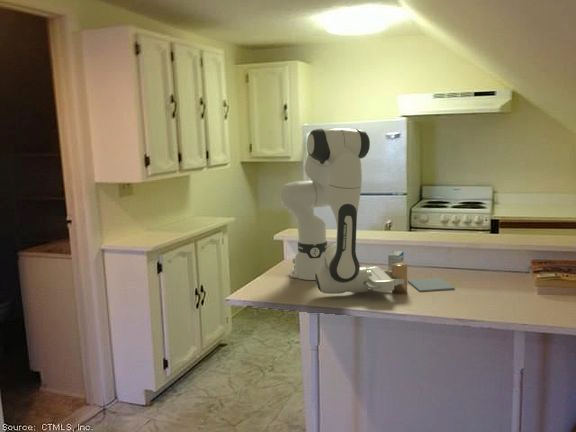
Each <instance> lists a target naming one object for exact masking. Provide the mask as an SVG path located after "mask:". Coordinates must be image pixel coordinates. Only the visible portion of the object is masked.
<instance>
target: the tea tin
mask: <svg viewBox="0 0 576 432" xmlns="http://www.w3.org/2000/svg"><path fill="white" fill-rule="evenodd" d="M398 278H403V279H404V283H403V284H398V285H396V286H394V290H392V291H391V293H392V294H394V295H405V294H408V264H407V263H405V262H404V263H394V264H392V277H391V279H398Z"/></svg>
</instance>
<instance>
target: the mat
mask: <svg viewBox="0 0 576 432" xmlns="http://www.w3.org/2000/svg"><path fill="white" fill-rule="evenodd" d="M407 283H409V284H410V285H411V286H412V287H414V288H415V289H416V290H417V291H418V292H419V293H421V292H434V291H435V292H436V291H437V292H439V291H451V290H455V289H456V288H455V287H454V286H453V285H451V284H450V282H447V281H446V280H444V279H443V278H442V277H436V278H435V277H434V278H422V279H421V278H420V279H407Z"/></svg>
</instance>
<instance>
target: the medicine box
mask: <svg viewBox="0 0 576 432" xmlns="http://www.w3.org/2000/svg"><path fill="white" fill-rule="evenodd" d="M404 255H405V254H404V251H400V250H393V251H392V252H391V253H390V254H388V255H387V256H388V257H387V258H388V259H387V263H388V267H387V268H388V270H387V271H392V264H394V263H404V264H405V262H404V259H405V257H404Z"/></svg>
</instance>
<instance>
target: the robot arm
mask: <svg viewBox="0 0 576 432" xmlns="http://www.w3.org/2000/svg"><path fill="white" fill-rule="evenodd" d="M370 146H371V142H370V137H369V134H368V133H367V132H366V131H364V130H363V129H360V128H355V129H354V128H353V129H352V128H347V127H346V128H345V127H337V128H316V129H312V130H311V131H310V132H309V134H308V136H307V141H306V150H307V153H308V154H307V157H306V160H305V164H304V173H305V175H306V176H307V177H308V178H310V179H308V180H295V181H291V182H289V183H288V182H287V183H285V184H283V185H282V186H281V188H280V190H279V200H280V203H281V204H282V206H283V207H284V208H286V209H287V210H288V211H289V212H290V213H291V214H292V215H293V216H294V219H295V221H296V224H297V232H298V242H297V254H296V255H295V256H294V257H293V258H292V264H293V266H292V269H291V272H290V278H295V279H300V280H305V281H316V285H317V289H318V291H320V293H322V294H327V295H329V294H330V295H333V294H334V295H340V294H341V295H342V294H345V293H354V294H355V293H366V292H367V293H368V291H369V289H370V290H371V291H373V292H392V290H394V286H396V285H398V284H403V283H404V279H403V278H398V279H392V271H388V270H385V269H381V267H380V266H375V265H360V263H359V259H358V257H357V254H356V253H357V251H356V245H357V227H358V226H357V222H358V213H359V205H360V201H361V200H360V199H361V193H362V191H361V190H362V181H363V179H362V177H363V174H362V161H361V160H362V159H364V158H366V156H367V154H369V151H370ZM329 206H330V208H331V211H332V213H333V216H334V218H335V223H336V242H335V241H334V242H332V243H330V244H328V240H327V227H326V226H327V225H326V222H325V220H324V219H322V218H321V217H320V216H317V215H314V212H313V208H314V209H315V208H321V207H322V208H323V207H329Z"/></svg>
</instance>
